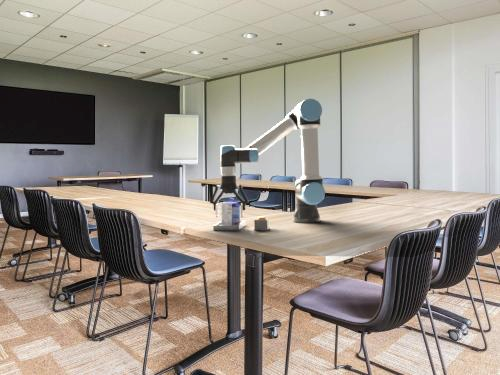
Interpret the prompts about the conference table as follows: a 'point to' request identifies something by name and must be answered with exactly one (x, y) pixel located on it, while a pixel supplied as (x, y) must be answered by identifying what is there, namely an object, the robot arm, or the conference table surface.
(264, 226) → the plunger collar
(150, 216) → the conference table surface
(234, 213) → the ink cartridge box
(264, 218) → the plunger
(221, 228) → the tray
